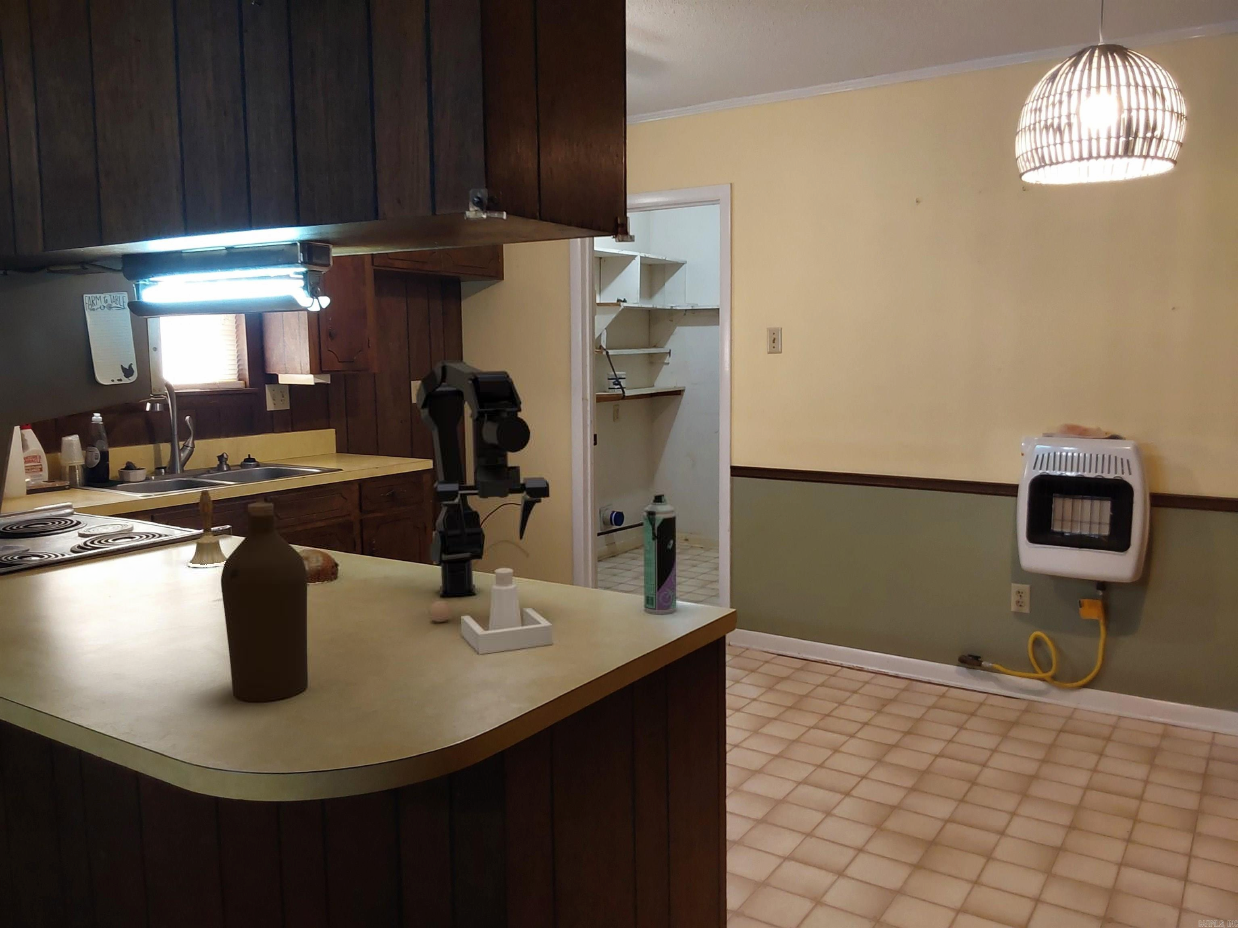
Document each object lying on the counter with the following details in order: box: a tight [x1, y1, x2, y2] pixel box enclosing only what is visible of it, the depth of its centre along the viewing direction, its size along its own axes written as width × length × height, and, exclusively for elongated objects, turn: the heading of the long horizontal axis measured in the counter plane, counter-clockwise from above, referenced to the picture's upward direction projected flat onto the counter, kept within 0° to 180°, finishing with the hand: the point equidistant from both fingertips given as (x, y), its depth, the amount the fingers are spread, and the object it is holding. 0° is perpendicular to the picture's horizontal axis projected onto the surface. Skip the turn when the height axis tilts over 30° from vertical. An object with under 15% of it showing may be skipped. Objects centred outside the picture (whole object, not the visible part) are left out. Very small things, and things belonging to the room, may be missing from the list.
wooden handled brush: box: [189, 489, 228, 565], centre depth 204 cm, size 8×8×16 cm
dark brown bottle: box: [220, 501, 309, 703], centre depth 126 cm, size 11×11×25 cm
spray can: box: [642, 493, 677, 615], centre depth 163 cm, size 6×6×20 cm
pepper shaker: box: [488, 567, 523, 631], centre depth 148 cm, size 5×5×11 cm
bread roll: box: [297, 548, 340, 583], centre depth 190 cm, size 10×10×8 cm
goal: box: [460, 607, 554, 655], centre depth 149 cm, size 11×11×3 cm
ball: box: [429, 600, 452, 623], centre depth 159 cm, size 4×4×4 cm
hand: (493, 540), depth 160 cm, fingers open, 9 cm apart
